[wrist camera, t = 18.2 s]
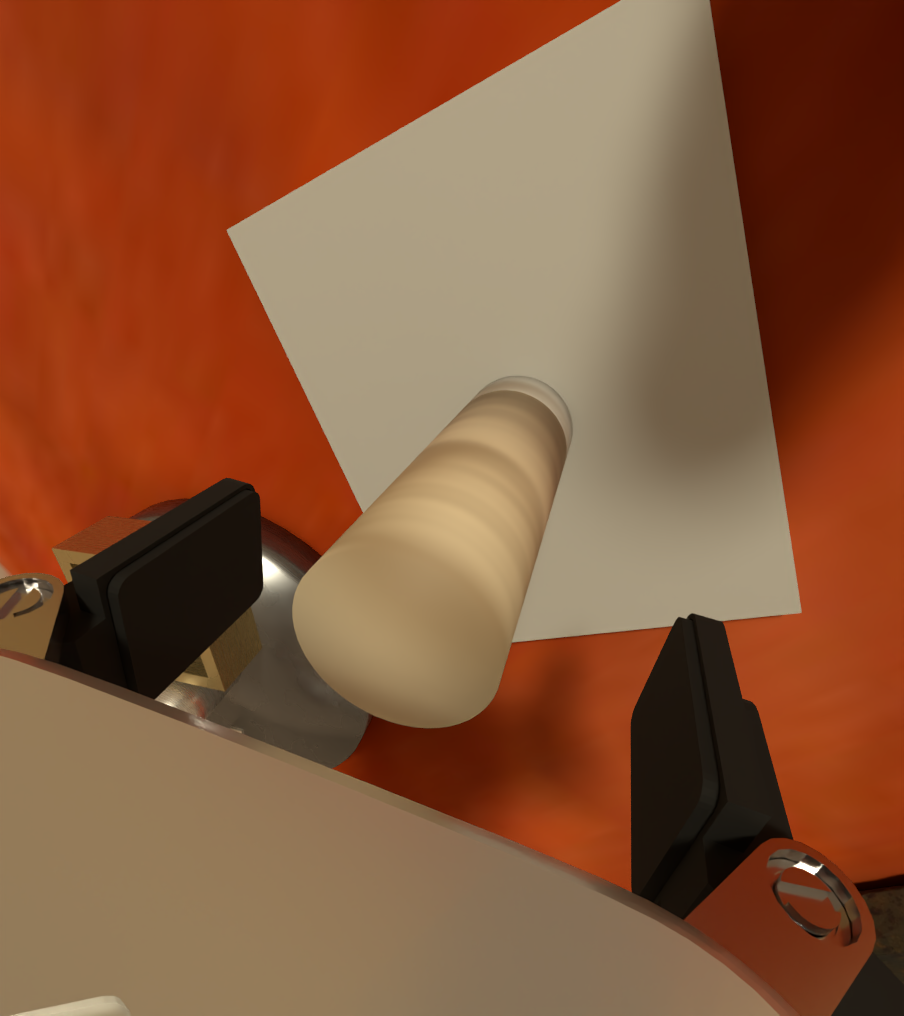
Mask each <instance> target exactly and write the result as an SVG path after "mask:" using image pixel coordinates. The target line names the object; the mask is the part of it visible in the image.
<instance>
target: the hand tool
mask: <svg viewBox="0 0 904 1016" xmlns="http://www.w3.org/2000/svg"><path fill="white" fill-rule="evenodd" d="M859 893H860V894H861V896H862V897H863V899H864V900H865V902H866V904H867V907H868V909H869V911H870V914H871V916H872V918H873V921H874V927H875V934H876V941H875V944H874V948H873V952H874V953H875V955H876V956H877V957H878V958H879V959H880V960H881V961H882V962H883V963H884V964H885V965H886V966H887V967H888V968H889V969H890V970H891V971H892V973H893V974H894V975H895V976H896V977H897V978H898V979H899V980H900V981H901V982H902V983H903V984H904V886H893V887H887V888H877V889H873V890H866V891H859Z"/></svg>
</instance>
